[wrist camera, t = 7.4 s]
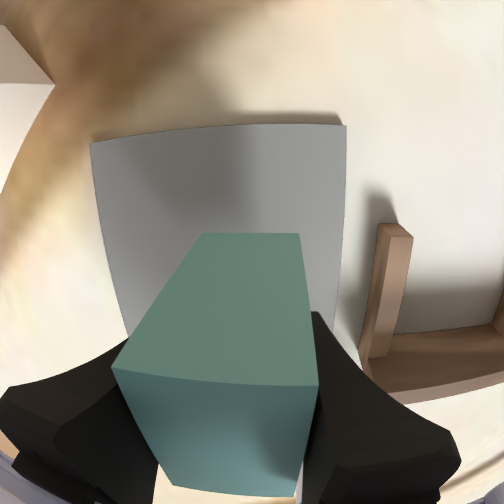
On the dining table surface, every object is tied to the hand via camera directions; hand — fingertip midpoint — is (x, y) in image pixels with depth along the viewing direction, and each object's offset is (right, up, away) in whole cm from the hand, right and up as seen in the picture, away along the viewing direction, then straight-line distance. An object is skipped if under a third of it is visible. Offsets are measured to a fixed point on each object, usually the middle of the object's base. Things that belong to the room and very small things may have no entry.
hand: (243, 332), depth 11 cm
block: (0, +1, +3) cm, 3 cm away
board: (-2, +3, +9) cm, 10 cm away
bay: (+16, 0, +9) cm, 18 cm away
